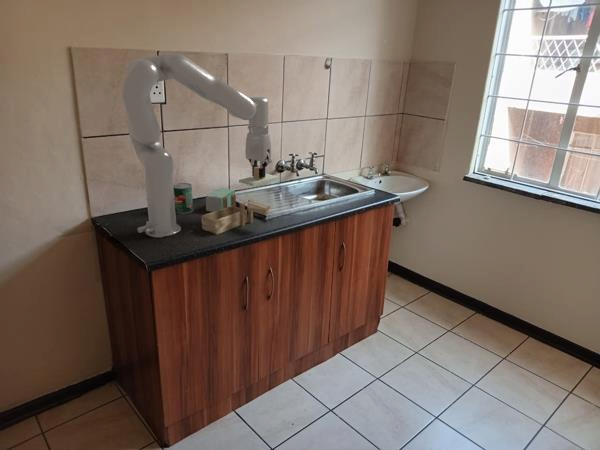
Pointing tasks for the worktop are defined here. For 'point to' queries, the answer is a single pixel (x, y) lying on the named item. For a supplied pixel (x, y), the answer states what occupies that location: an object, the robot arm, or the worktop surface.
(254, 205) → the tan wooden block
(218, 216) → the toolbox
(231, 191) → the box
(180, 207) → the canned tomato
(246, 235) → the worktop surface
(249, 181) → the lid
